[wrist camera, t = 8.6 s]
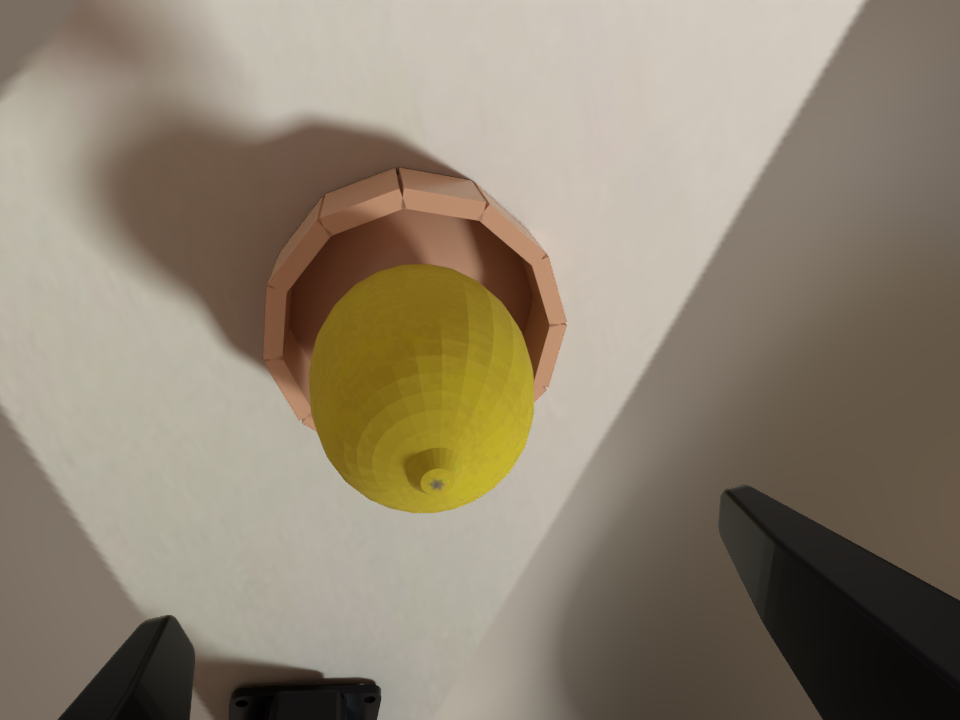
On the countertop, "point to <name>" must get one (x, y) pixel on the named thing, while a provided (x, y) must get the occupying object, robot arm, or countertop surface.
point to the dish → (401, 241)
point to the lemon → (421, 388)
